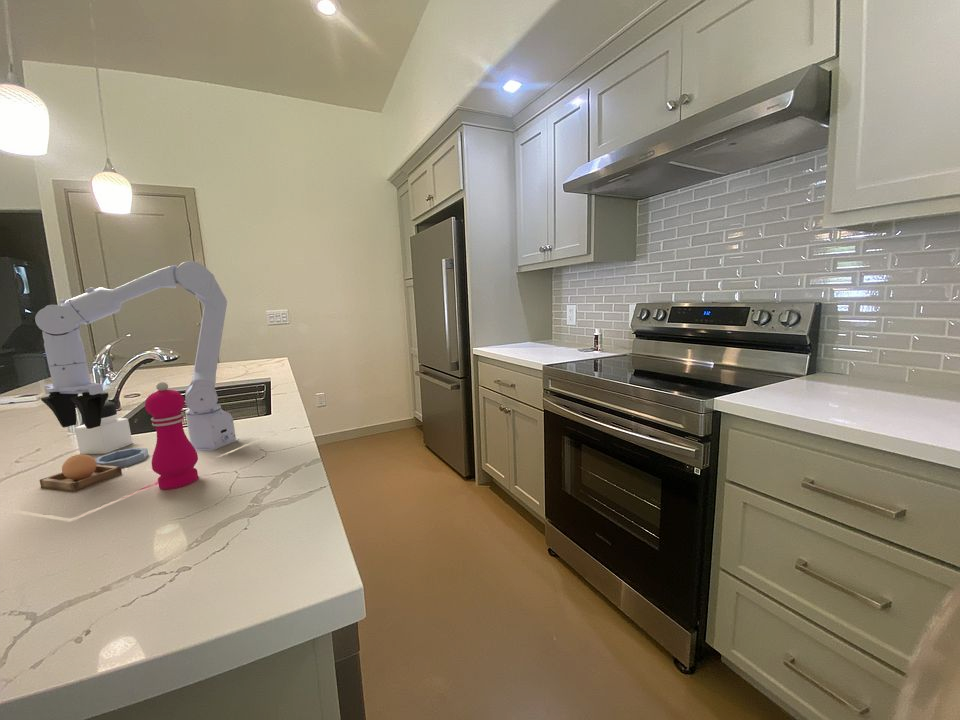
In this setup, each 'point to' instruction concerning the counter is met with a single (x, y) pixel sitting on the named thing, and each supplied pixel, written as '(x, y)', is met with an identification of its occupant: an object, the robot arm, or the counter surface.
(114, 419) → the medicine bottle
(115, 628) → the counter surface
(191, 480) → the pepper mill
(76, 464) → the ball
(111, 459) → the ramekin
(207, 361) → the robot arm
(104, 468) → the tray
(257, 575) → the counter surface
